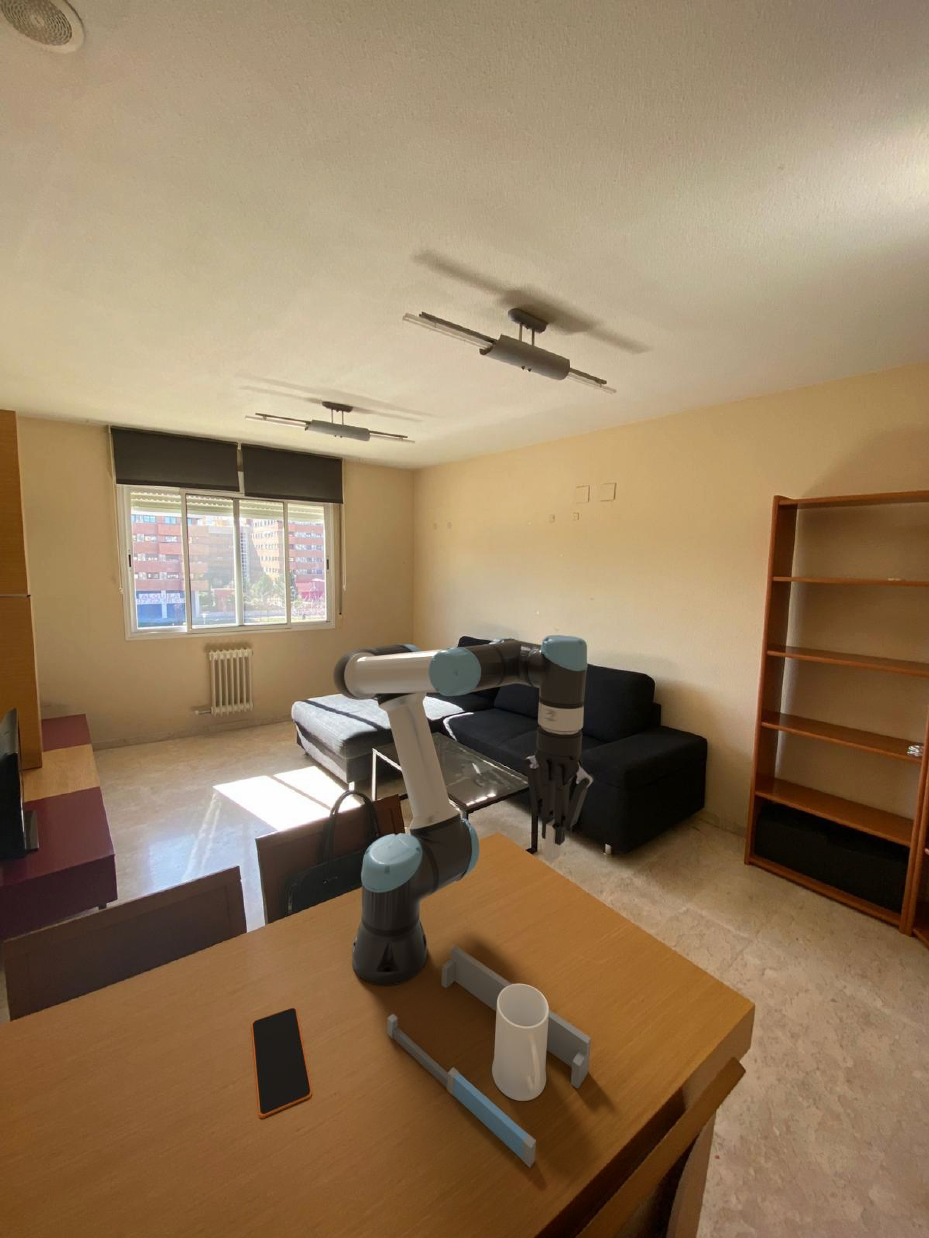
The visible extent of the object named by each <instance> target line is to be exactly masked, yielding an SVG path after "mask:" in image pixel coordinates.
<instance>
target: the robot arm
mask: <svg viewBox="0 0 929 1238" xmlns="http://www.w3.org/2000/svg"><path fill="white" fill-rule="evenodd" d="M588 667H589V666H588V644H587V642H586V641H585V640H584V639H583V638H581V637H578V636H573V635H561V634H559V635H557V634H553V635H546V636H545V637H543V639H542V642H541V644H538V643H533V642H526V641H523V640H518V639H515V638H511V637H510V638H502V637H497V638H495V639H493V640H492V641H491V642H489V643H488V644H487V643H485V644H480V645H470V646H463V647H462V646H459V647H458V646H457V647H449V648H443V649H442V648H441V649H433V650H431V649H430V650H422V649H421V648H419V647H417V646H416V645H414V644H409V643H407V644H400V643H396V644H394V645H393V644H391V645H383V646H376V647H375V646H374V647H364V648H362V647H361V648H357V649H354V650H351V651H348V652H346V653H345V654H343V655H342V656H341V657H340V658H339V659H338V660H337V662H336V664H335V665H334V668H333V675H332V678H333V683H334V685H335V688H336V690H337V691H338V692H339V693H340V694H341V695H342V696H344V697H346V698H347V699H350V700H356V701H357V700H358V701H363V700H372V699H376V702H377V705H378V708H379V709H381V710H382V711H385V712H386V714H387V717H388V721H389V725H390V730H391V733H392V738H393V742H394V745H395V749H396V753H397V756H398V757H397V758H398V762H399V765H400V769H401V773H402V776H403V782H404V785H405V788H406V792H407V797H408V800H409V804H410V809H411V812H412V816H413V818H412V820H411V822H410V824H409V826H408V829H409V833H410V834H409V833H405V832H404V833H401V832H399V833H398V834H395V833H391V834H387V835H384V836H381V837H380V838H377V839H375V840H374V841H373V842H372V843H371V844H370V845H369V846H368V847H367V849H366V851H365V852H364V855H363V860H362V867H361V873H360V878H361V879H360V880H361V921H360V923H359V927H358V929H357V933H356V936H355V938H354V940H353V944H352V948H351V963H352V968H353V970H354V971H355V973H356V974H357V975H358V977H360V978H361V979H362V980H364V981H366V982H368V983H370V984H374V985H378V986H394V985H399V984H402V983H405V982H407V981H409V980H411V979H412V978H414V977H415V976H416V975H418V974H419V973H420V971H421V970H422V968H423V967H424V966H425V964H426V961H427V957H428V941H427V936H426V933H425V931H424V927H423V925H422V921H421V918H420V913H421V912H420V911H421V909H420V908H421V901H422V900H424V899H427V898H428V897H429V896H431V895H433V894H435V893H436V892H438V891H440V890H442V889H443V888H446V887H447V886H450V885H452V884H453V883H455V882H459V881H460V880H462V879H463V878H464V877H465V876H467V875H469V874H470V873H471V872H472V871H474V869H475V868H476V866H477V864H478V861H479V857H480V849H481V847H480V841H479V837H478V833H477V831H476V829H475V827H474V826H472V824H471V822H470V821H469V820H468V819H467V818H464V817H462V816H461V813H460V810H458V809H457V808H455V807H454V806H452V805H451V802H450V798H449V795H448V791H447V788H446V784H445V780H444V776H443V773H442V769H441V766H440V762H439V758H438V755H437V751H436V747H435V743H434V739H433V735H432V732H431V728H430V724H429V719H428V717H427V713H426V710H425V707H424V701H425V698H426V696H427V693H428V694H429V693H434V694H435V693H439V694H440V695H442V696H444V697H456V696H463V695H464V696H465V695H467V694H469V693H474V692H478V691H484V690H487V689H493V688H498V687H499V688H500V687H503V686H508V685H513V684H520V685H525V686H528V687H533V688H537V689H539V692H538V693H539V694H538V698H539V699H538V713H537V717H538V718H537V723H538V727H537V732H536V748H537V749H536V750H535V752H534V755H530V756H528V757H525V758H523V760H522V764H523V765H522V766H523V767H524V769H525V773H526V776H527V783H528V790H529V796H530V797H529V798H530V802H531V803H530V804H531V810H532V814H533V815H534V816H535V817H536V816H538V817H539V818H540V819H541V838H542V839H544V842H545V843H544V857H543V860H544V861H545V862H548V863H550V864H553V863H554V862H555V861H557V860H558V859H559V858H560V855H561V854H560V853H561V845H562V844H564V842H565V841H566V831H567V830H566V829H570V828H571V827H573V826H574V825H575V824H577V822H578V820H579V816H580V814H581V810H582V807H583V804H584V801H585V799H586V795H587V792H588V788H590V786H591V785H592V783H594V782H595V779H596V778H595V776H594V775H593V774H592V773H589V774H588V773H587V772H586V771H585V770H584V768H583V762H582V759H581V752H582V745H583V743H582V741H583V731H582V728H584V714H585V713H584V711H585V710H584V708H585V693H586V692H585V691H586V680H587V679H586V678H587V670H588ZM541 773H542V774H541ZM575 776H576V777H577V778H576V781H575V783H576V784H577V785H576V786H575V788H574V790H573V793H572V797H571V799H570V787H571V784H572V780H573V778H574V777H575ZM569 799H570V800H569ZM569 802H570V803H569Z"/></svg>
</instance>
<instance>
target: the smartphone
mask: <svg viewBox="0 0 929 1238" xmlns="http://www.w3.org/2000/svg"><path fill="white" fill-rule="evenodd" d="M300 1022H301V1021H300V1018H299V1015H298V1010H297V1008H296V1007H293V1006H292V1007H289V1008H287V1009H284V1010H282V1011H278V1012H275V1013H273V1014H270V1015H267V1016H264V1017H261V1018H258V1019H255V1020H253V1021H252V1022H251V1025H250V1027H251V1029H250V1030H251V1038H252V1040H251V1041H252V1049H253V1050H252V1052H253V1062H254V1064H253V1065H254V1073H255V1076H254V1077H255V1085H256V1098H257V1108H258V1109H257V1112H258V1117H259V1118H260V1119H265V1118H267V1117H270V1116H272V1115H275V1114H277V1113H280V1112H282V1111H283V1110H284V1109H287V1108H290V1107H293V1106H296V1105H298V1104H300V1103H302V1102H304V1101H307V1100H309V1099H311V1098H312V1096H313V1090H312V1089H313V1088H312V1084H311V1078H310V1074H309V1068H308V1064H307V1059H306V1058H307V1057H306V1052H305V1048H304V1038H303V1035H302V1027H301V1023H300Z"/></svg>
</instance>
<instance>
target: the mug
mask: <svg viewBox="0 0 929 1238" xmlns="http://www.w3.org/2000/svg"><path fill="white" fill-rule="evenodd" d="M511 984H512V985H509V986H507V987H505V988H504V989H503V990H502V991H501V992H500V994H499V996H498V999H497V1012H496V1013H495V1014H496V1016H495V1017H496V1018H495V1036H494V1037H495V1038H494V1052H493V1053H494V1054H493V1057H494V1058H493V1060H492V1066H491V1067H492V1068H491V1073H492V1078H493V1081H494V1084H495V1085H496V1086H497V1088H498V1089H499V1091H500V1092H501V1093H502V1094H503V1095H505V1096H506V1097H508V1098H510V1099H512V1100H515V1101H518V1102H525V1101H531V1100H534V1099H536V1098H537V1097H538V1096H539V1095H541V1093H542V1092H543V1091H544V1088H545V1086H546V1083H547V1071H546V1062H547V1059H546V1058H547V1033H548V1017H549V1010H550V1006H549V1003H548V1000H547V999H546V997H545V996H544V994H543V992H541V991H540V990H539V989H537V988H536V987H534V986H532V985H529V984H526V983H525V984H524V983H511Z"/></svg>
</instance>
